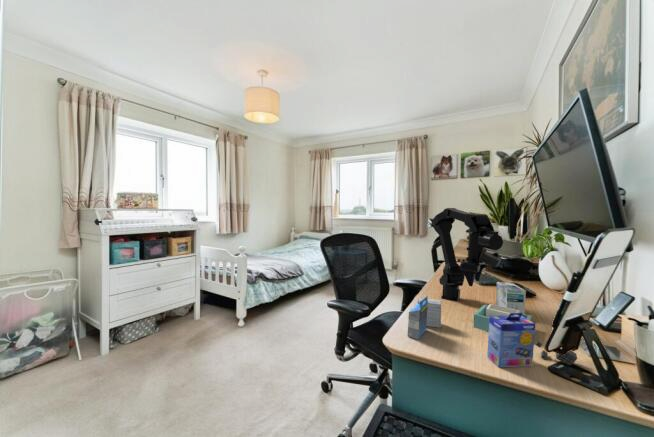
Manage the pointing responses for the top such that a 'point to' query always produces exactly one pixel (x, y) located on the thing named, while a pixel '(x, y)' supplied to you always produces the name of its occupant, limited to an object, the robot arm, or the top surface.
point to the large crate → (487, 319)
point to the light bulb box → (510, 296)
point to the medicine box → (433, 312)
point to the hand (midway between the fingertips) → (474, 283)
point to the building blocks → (567, 358)
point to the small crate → (499, 310)
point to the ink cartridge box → (511, 340)
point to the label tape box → (418, 319)
